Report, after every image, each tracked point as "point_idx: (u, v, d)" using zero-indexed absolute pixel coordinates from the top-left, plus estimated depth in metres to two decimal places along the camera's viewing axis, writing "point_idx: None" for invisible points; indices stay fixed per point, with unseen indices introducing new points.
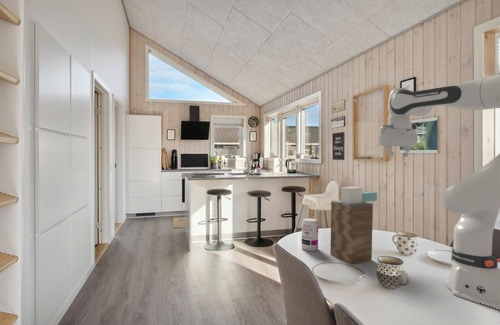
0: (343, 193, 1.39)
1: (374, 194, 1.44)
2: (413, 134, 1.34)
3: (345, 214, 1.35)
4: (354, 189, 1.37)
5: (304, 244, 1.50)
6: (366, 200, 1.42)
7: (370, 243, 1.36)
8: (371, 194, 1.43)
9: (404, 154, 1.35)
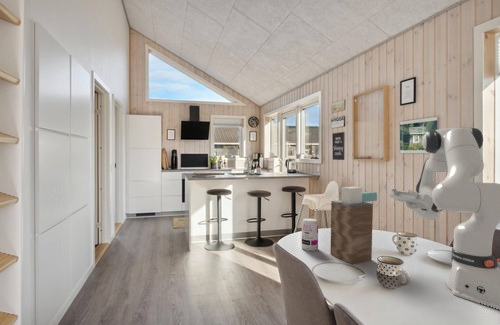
0: (343, 193, 1.39)
1: (374, 194, 1.44)
2: None
3: (345, 214, 1.35)
4: (354, 189, 1.37)
5: (304, 244, 1.50)
6: (366, 200, 1.42)
7: (370, 243, 1.36)
8: (371, 194, 1.43)
9: None
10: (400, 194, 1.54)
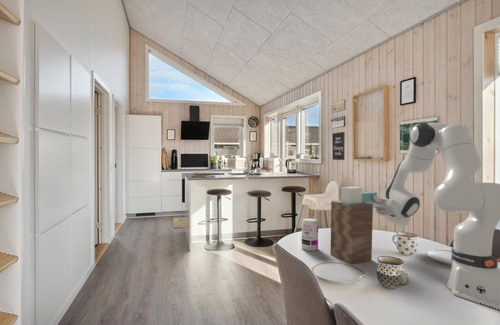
0: (343, 193, 1.39)
1: (374, 194, 1.44)
2: None
3: (345, 214, 1.35)
4: (354, 189, 1.37)
5: (304, 244, 1.50)
6: (366, 200, 1.42)
7: (370, 243, 1.36)
8: (371, 194, 1.43)
9: None
10: None
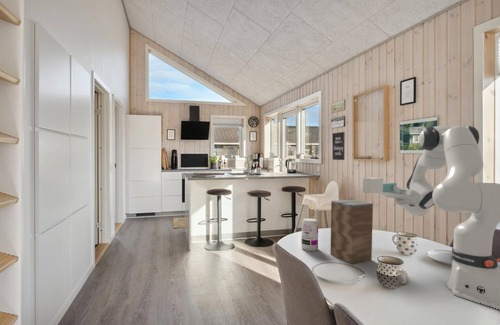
0: (365, 183, 1.45)
1: (394, 185, 1.50)
2: None
3: (345, 214, 1.35)
4: (376, 179, 1.43)
5: (304, 244, 1.50)
6: (386, 190, 1.48)
7: (370, 243, 1.36)
8: (391, 185, 1.49)
9: None
10: None
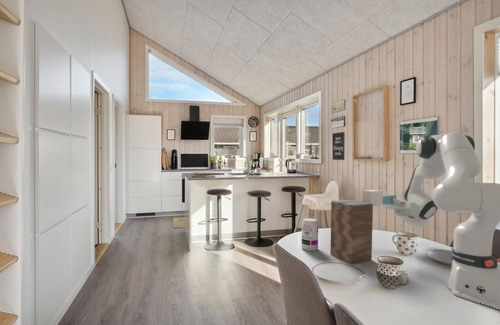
0: (365, 195, 1.45)
1: (394, 197, 1.50)
2: None
3: (345, 214, 1.35)
4: (375, 192, 1.43)
5: (304, 244, 1.50)
6: (386, 202, 1.48)
7: (370, 243, 1.36)
8: (391, 197, 1.50)
9: None
10: None
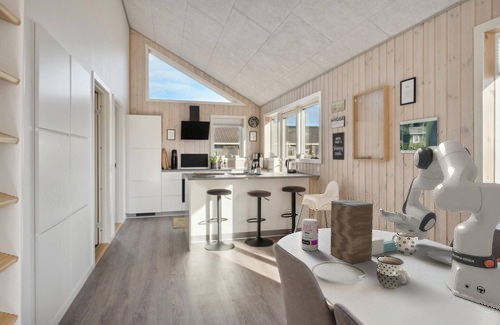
0: None
1: None
2: None
3: (345, 214, 1.35)
4: (376, 241, 1.44)
5: (304, 244, 1.50)
6: (387, 250, 1.49)
7: (370, 243, 1.36)
8: (392, 244, 1.50)
9: None
10: (388, 215, 1.56)
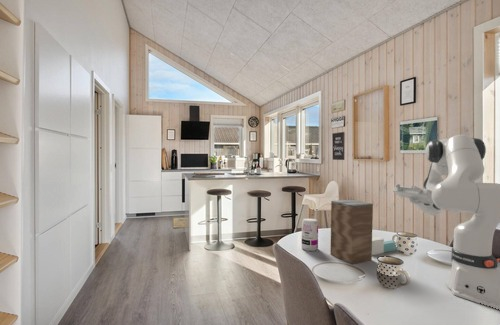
0: None
1: None
2: None
3: (345, 214, 1.35)
4: (376, 241, 1.44)
5: (304, 244, 1.50)
6: (387, 250, 1.49)
7: (370, 243, 1.36)
8: (392, 244, 1.50)
9: None
10: (404, 190, 1.61)
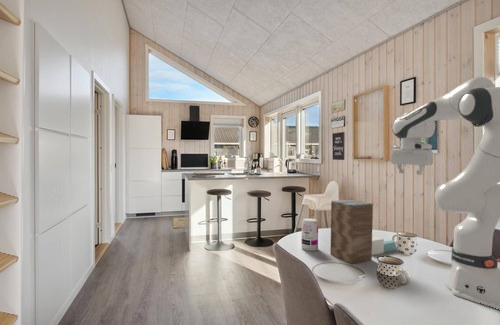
0: None
1: None
2: (422, 153, 1.37)
3: (345, 214, 1.35)
4: (376, 241, 1.44)
5: (304, 244, 1.50)
6: (387, 250, 1.49)
7: (370, 243, 1.36)
8: (392, 244, 1.50)
9: None
10: None
